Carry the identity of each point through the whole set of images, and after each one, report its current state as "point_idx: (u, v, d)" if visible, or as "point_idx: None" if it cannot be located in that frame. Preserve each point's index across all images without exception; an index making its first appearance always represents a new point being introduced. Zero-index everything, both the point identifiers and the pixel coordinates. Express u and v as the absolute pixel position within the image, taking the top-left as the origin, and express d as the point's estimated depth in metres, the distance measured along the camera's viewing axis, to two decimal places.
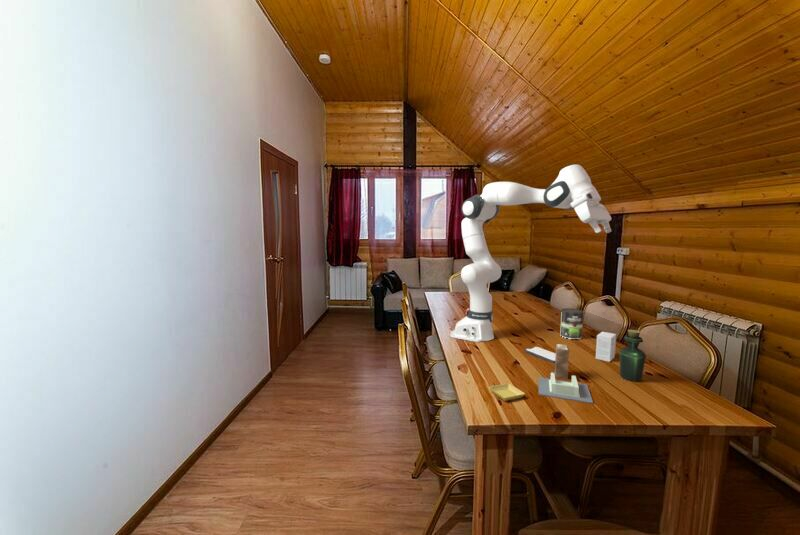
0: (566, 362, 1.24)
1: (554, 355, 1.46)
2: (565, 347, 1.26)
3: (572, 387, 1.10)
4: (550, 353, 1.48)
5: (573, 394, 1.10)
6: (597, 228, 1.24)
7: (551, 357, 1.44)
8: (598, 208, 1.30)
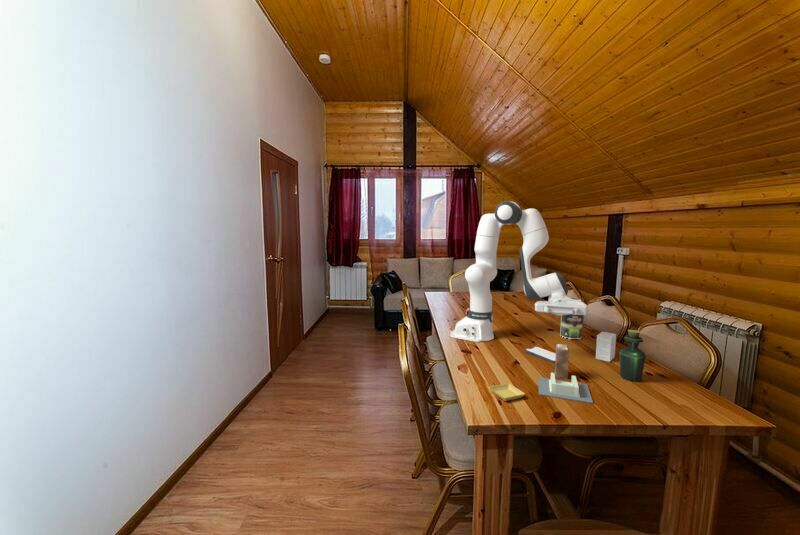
0: (566, 362, 1.24)
1: (554, 355, 1.46)
2: (565, 347, 1.26)
3: (572, 387, 1.10)
4: (550, 353, 1.48)
5: (573, 394, 1.10)
6: (576, 313, 1.36)
7: (551, 357, 1.44)
8: None
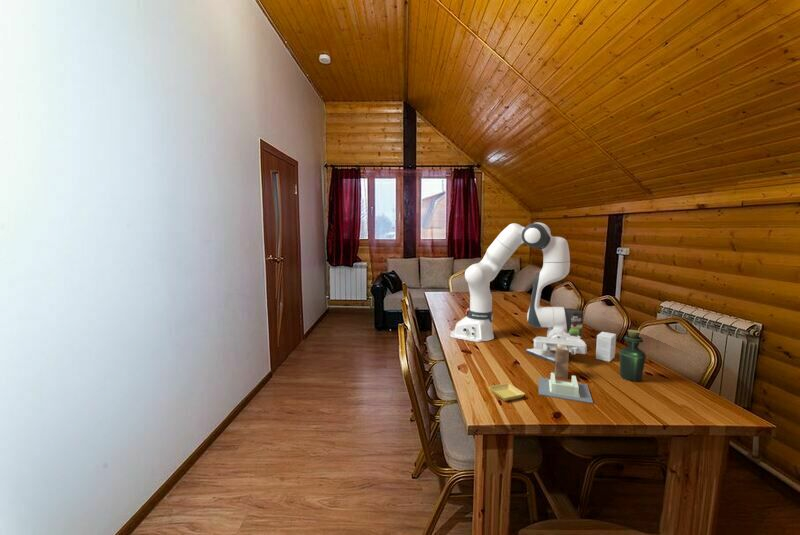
0: (566, 362, 1.24)
1: (555, 355, 1.46)
2: (565, 347, 1.26)
3: (572, 387, 1.10)
4: (551, 353, 1.48)
5: (573, 394, 1.10)
6: None
7: (551, 357, 1.43)
8: None
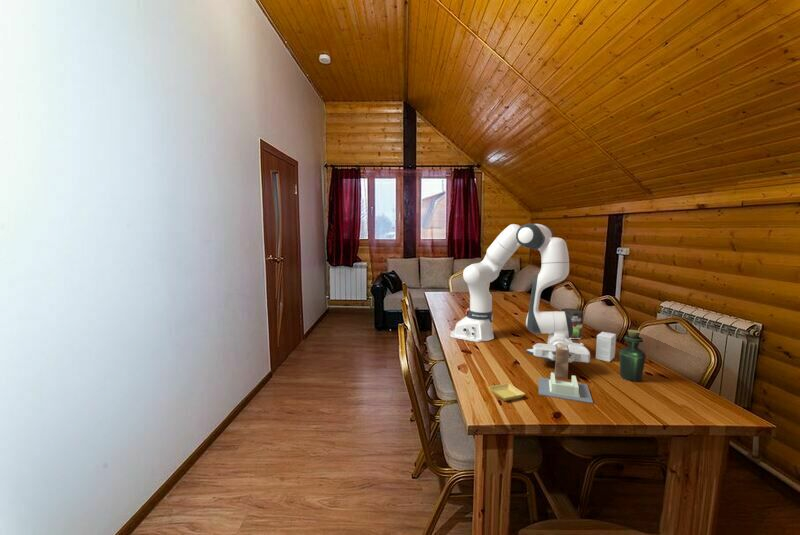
0: (566, 362, 1.24)
1: None
2: (565, 347, 1.26)
3: (572, 387, 1.10)
4: None
5: (573, 394, 1.10)
6: (571, 360, 1.26)
7: None
8: None
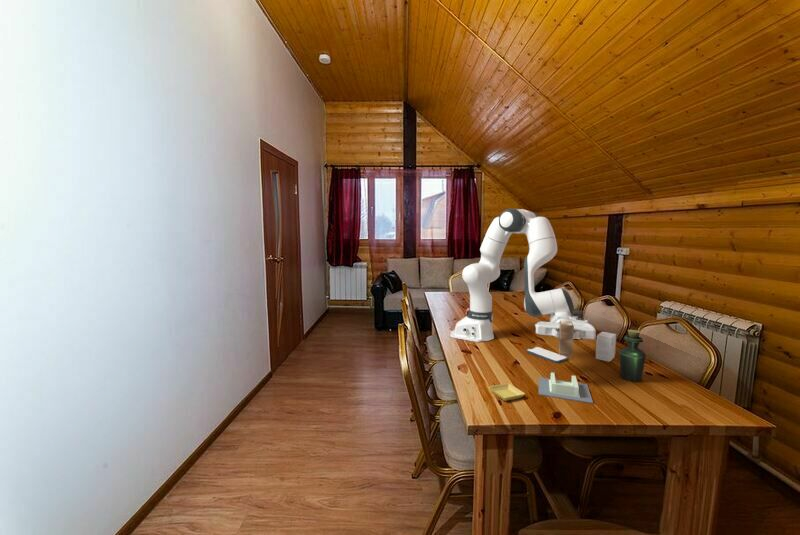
0: (571, 338, 1.18)
1: (556, 355, 1.46)
2: (569, 323, 1.20)
3: (572, 387, 1.10)
4: (551, 353, 1.48)
5: (573, 394, 1.10)
6: (576, 336, 1.20)
7: (553, 357, 1.44)
8: None
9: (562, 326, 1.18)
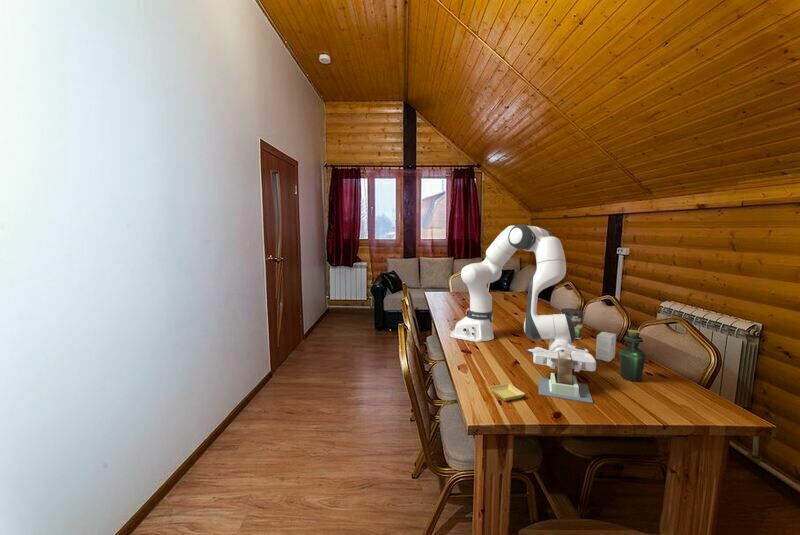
0: (569, 373, 1.12)
1: None
2: (568, 356, 1.14)
3: (572, 387, 1.10)
4: None
5: (573, 394, 1.10)
6: (578, 369, 1.14)
7: None
8: None
9: (560, 360, 1.13)
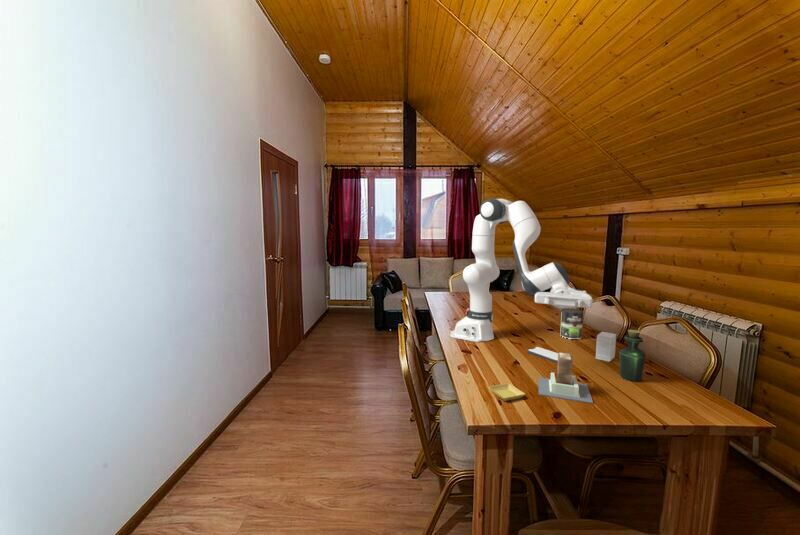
0: (569, 373, 1.12)
1: (557, 355, 1.46)
2: (568, 356, 1.14)
3: (572, 387, 1.10)
4: (553, 353, 1.48)
5: (573, 394, 1.10)
6: None
7: (554, 357, 1.44)
8: None
9: (560, 360, 1.13)
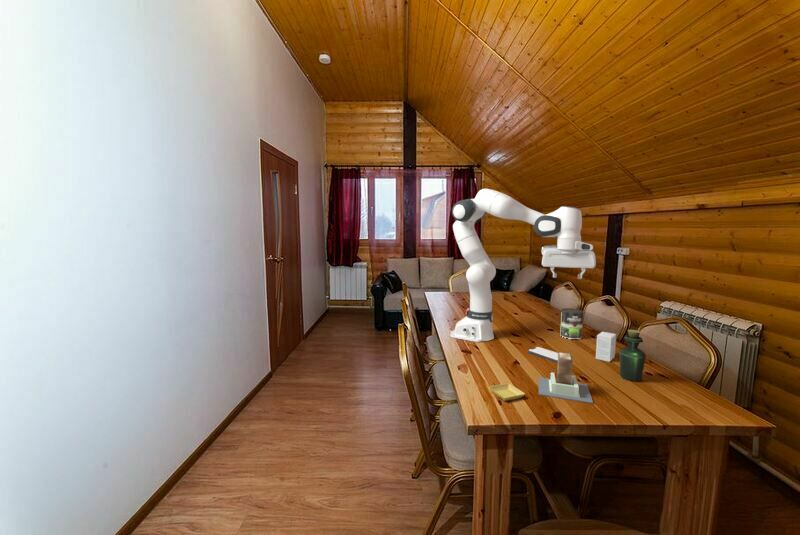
0: (569, 373, 1.12)
1: None
2: (568, 356, 1.14)
3: (572, 387, 1.10)
4: (553, 353, 1.49)
5: (573, 394, 1.10)
6: None
7: (555, 357, 1.44)
8: None
9: (560, 360, 1.13)
